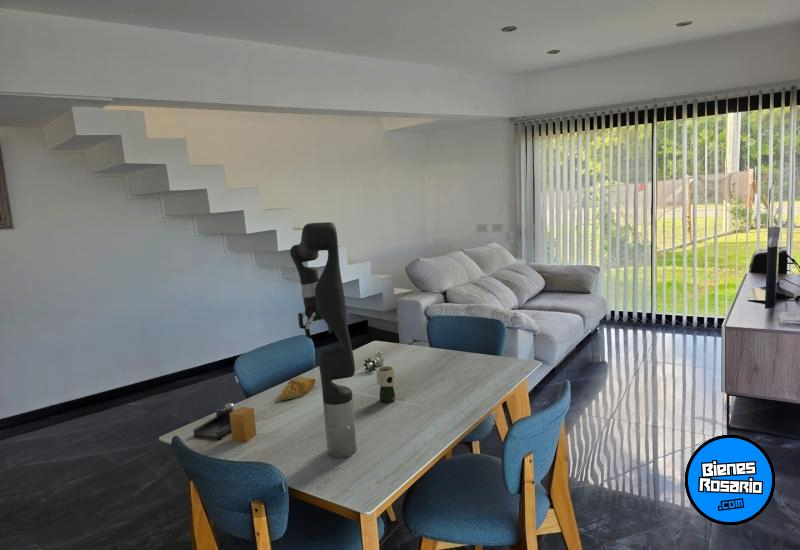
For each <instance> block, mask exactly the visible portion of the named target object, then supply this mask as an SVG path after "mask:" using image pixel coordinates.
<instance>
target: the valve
mask: <svg viewBox="0 0 800 550" xmlns="http://www.w3.org/2000/svg"><path fill="white" fill-rule="evenodd" d="M374 356H375V357H374V358H373V360H372V358H371V357H369V358H368V359H365V360H364V363H363V367H365V368H364V370H365V371H368V372H369V373H372V372H374V371H377V368H379V366H381V367H382V366H383V365H384V366H385V358H384V351H381V350H379V351H375V354H374Z"/></svg>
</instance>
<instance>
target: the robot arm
mask: <svg viewBox="0 0 800 550" xmlns="http://www.w3.org/2000/svg"><path fill="white" fill-rule="evenodd" d="M320 251H321V252H323V251H327V261H326V263H325V267H324V268H323V271H322V273H321V274H320V277H319V274H318V273H319V272H318V269H317V268H316V267H314V266H306V265H304V264H303V263H306V262H311V261H315V260H317V259H318V257H319V252H320ZM289 253H290V257H291V260H292V262H293V263H294V265H295V267H296V269H297V272H298V275H299V281H300V284H301V285H300V287H301V295H302V300H303V305H304V312H298V313H297V321H298V327H299V329H302V330H304V332H305V333H304V334H305V337H306V338H308V339H311V338H312V337H311V336H312V335H311V329H310V326H311V324H312V322H317V321H321V320H323V321H324V322H325V323H326V324H327V330H328V333H329V334H333V333H334V335H335V336H336V338H337V340H338V342H339V345H340V348H337V349H331V350H330V349H329V350H324V351H321V352H320V353H319V355H318V367H319V374H320V382H321V390H322V404H323V415H324V425H325V426H324V427H325V437H326V446H327V447H326V450H327V454H328V455H329V456H330V457H331V459H337V458H338V459H339V458H347V457H352V456H353V454H355V453H356V452H357V441H356V439H357V438H356V429H355V428H356V427H355V426H356V424H355V414H354V402H353V401H354V400H353V399H354V398H353V391H352V389H351V388H350V387H348V386H345V385H340V384H337V383H335V382H332V381H333V380H340V379H341V380H343V379H348V378H352V377H354V375H355V373H356V365H355V357H354V352H353V347H352V342H351V337H350V333H349V326H348V318H347V308H346V300H345V291H344V286H343V280H342V275H341V274H342V273H341V267H340V257H339V256H340V255H339V242H338V231H337V228H336V225H335V224H334V223H333V222H327V221H326V222H311V223H306V224H305V225H304V226H303V228H302V232H301V237H300V243H299V244H294V245H292V246H291V247H290V250H289ZM305 316H306V317H307V319H306V321H305V324H304V318H305Z"/></svg>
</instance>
